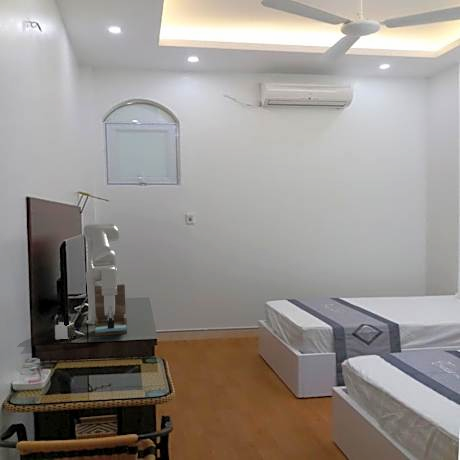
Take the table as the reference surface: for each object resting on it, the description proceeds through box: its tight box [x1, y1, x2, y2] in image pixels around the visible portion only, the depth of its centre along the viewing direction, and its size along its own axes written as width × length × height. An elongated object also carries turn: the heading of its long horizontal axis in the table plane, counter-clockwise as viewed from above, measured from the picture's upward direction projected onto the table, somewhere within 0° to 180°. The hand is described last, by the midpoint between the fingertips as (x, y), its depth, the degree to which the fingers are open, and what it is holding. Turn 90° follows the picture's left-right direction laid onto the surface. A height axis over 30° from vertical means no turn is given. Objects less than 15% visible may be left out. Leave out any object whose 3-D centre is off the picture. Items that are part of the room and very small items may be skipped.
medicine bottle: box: [54, 314, 76, 340], centre depth 255 cm, size 7×7×12 cm
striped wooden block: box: [94, 283, 128, 337], centre depth 265 cm, size 15×16×24 cm
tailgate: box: [94, 325, 128, 332], centre depth 252 cm, size 1×15×10 cm
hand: (110, 328), depth 249 cm, fingers closed
